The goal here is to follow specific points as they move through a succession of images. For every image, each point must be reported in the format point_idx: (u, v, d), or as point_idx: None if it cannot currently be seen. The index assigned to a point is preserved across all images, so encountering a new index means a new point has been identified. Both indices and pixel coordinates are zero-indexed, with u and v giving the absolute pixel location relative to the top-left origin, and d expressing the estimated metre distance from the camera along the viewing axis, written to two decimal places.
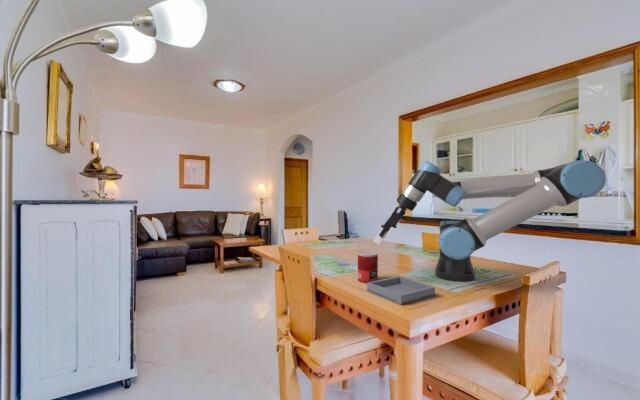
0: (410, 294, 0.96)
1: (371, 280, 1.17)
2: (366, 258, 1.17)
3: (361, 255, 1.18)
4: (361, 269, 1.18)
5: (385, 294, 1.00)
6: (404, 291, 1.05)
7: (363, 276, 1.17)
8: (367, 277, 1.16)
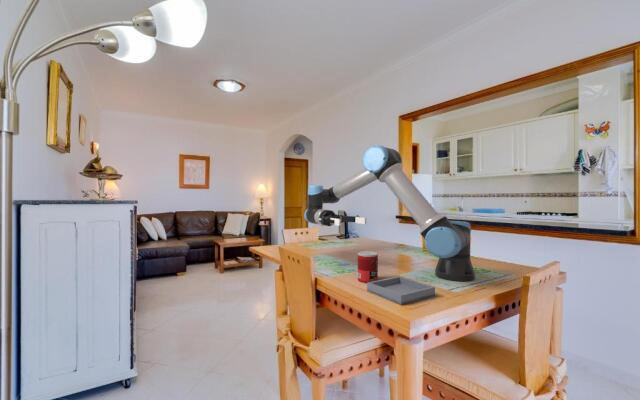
0: (410, 294, 0.96)
1: (371, 280, 1.17)
2: (366, 258, 1.16)
3: (361, 255, 1.18)
4: (361, 269, 1.18)
5: (385, 294, 1.00)
6: (404, 291, 1.05)
7: (363, 276, 1.17)
8: (367, 277, 1.16)
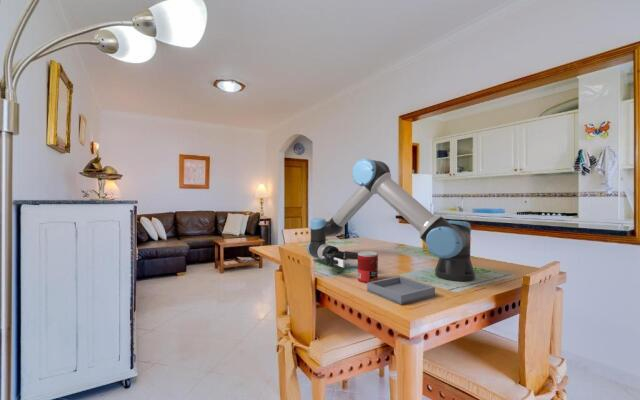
0: (410, 294, 0.96)
1: (371, 280, 1.17)
2: (366, 258, 1.17)
3: (361, 255, 1.18)
4: (361, 269, 1.18)
5: (385, 294, 1.00)
6: (404, 291, 1.05)
7: (363, 276, 1.17)
8: (367, 277, 1.16)
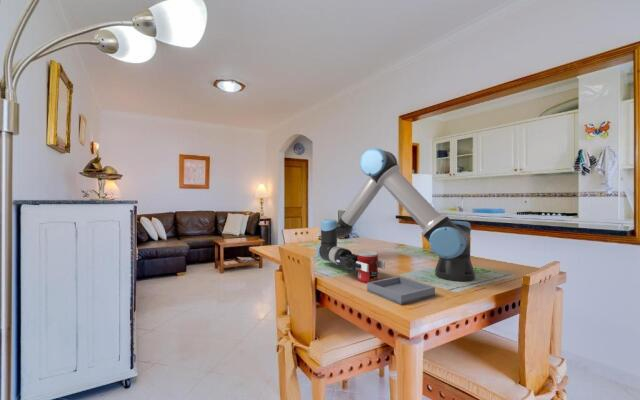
0: (410, 294, 0.96)
1: (371, 280, 1.16)
2: (366, 258, 1.16)
3: (361, 255, 1.18)
4: None
5: (385, 294, 1.00)
6: (404, 291, 1.05)
7: (363, 276, 1.17)
8: (367, 277, 1.16)
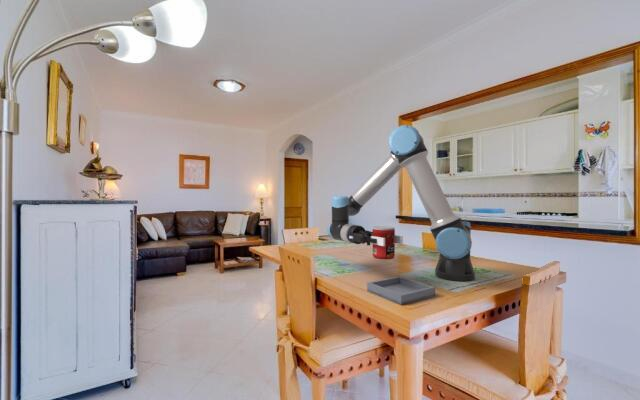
0: (410, 294, 0.96)
1: (388, 256, 1.07)
2: (382, 232, 1.07)
3: (377, 229, 1.08)
4: None
5: (385, 294, 1.00)
6: (404, 291, 1.05)
7: (379, 252, 1.07)
8: (383, 252, 1.07)
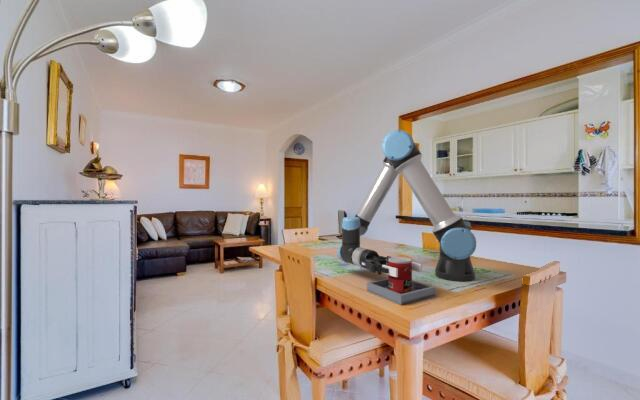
0: (410, 294, 0.96)
1: (405, 290, 1.01)
2: (399, 265, 1.01)
3: (393, 262, 1.02)
4: (394, 278, 1.02)
5: (385, 294, 1.00)
6: None
7: (396, 286, 1.02)
8: (401, 287, 1.01)
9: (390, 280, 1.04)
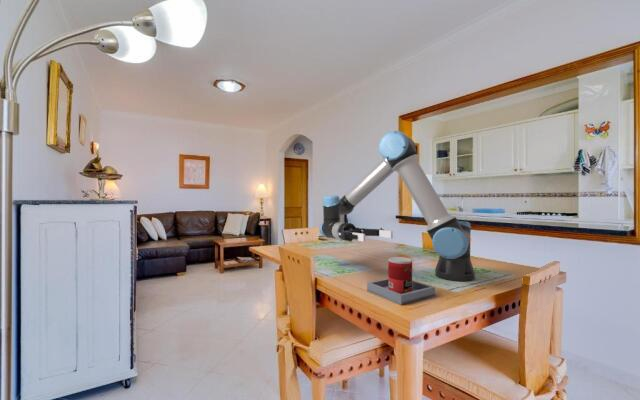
0: (410, 294, 0.96)
1: (405, 291, 1.01)
2: (399, 265, 1.01)
3: (393, 262, 1.02)
4: (394, 278, 1.02)
5: (385, 294, 1.00)
6: None
7: (396, 286, 1.02)
8: (401, 287, 1.01)
9: (390, 280, 1.04)
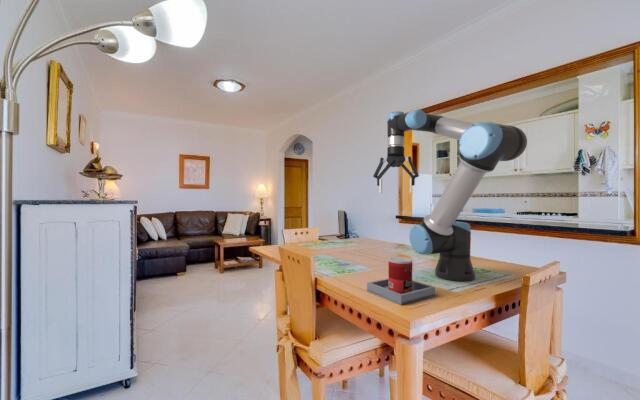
0: (410, 294, 0.96)
1: (405, 291, 1.01)
2: (399, 265, 1.01)
3: (393, 262, 1.02)
4: (394, 278, 1.02)
5: (385, 294, 1.00)
6: None
7: (396, 286, 1.02)
8: (401, 287, 1.01)
9: (390, 280, 1.04)
